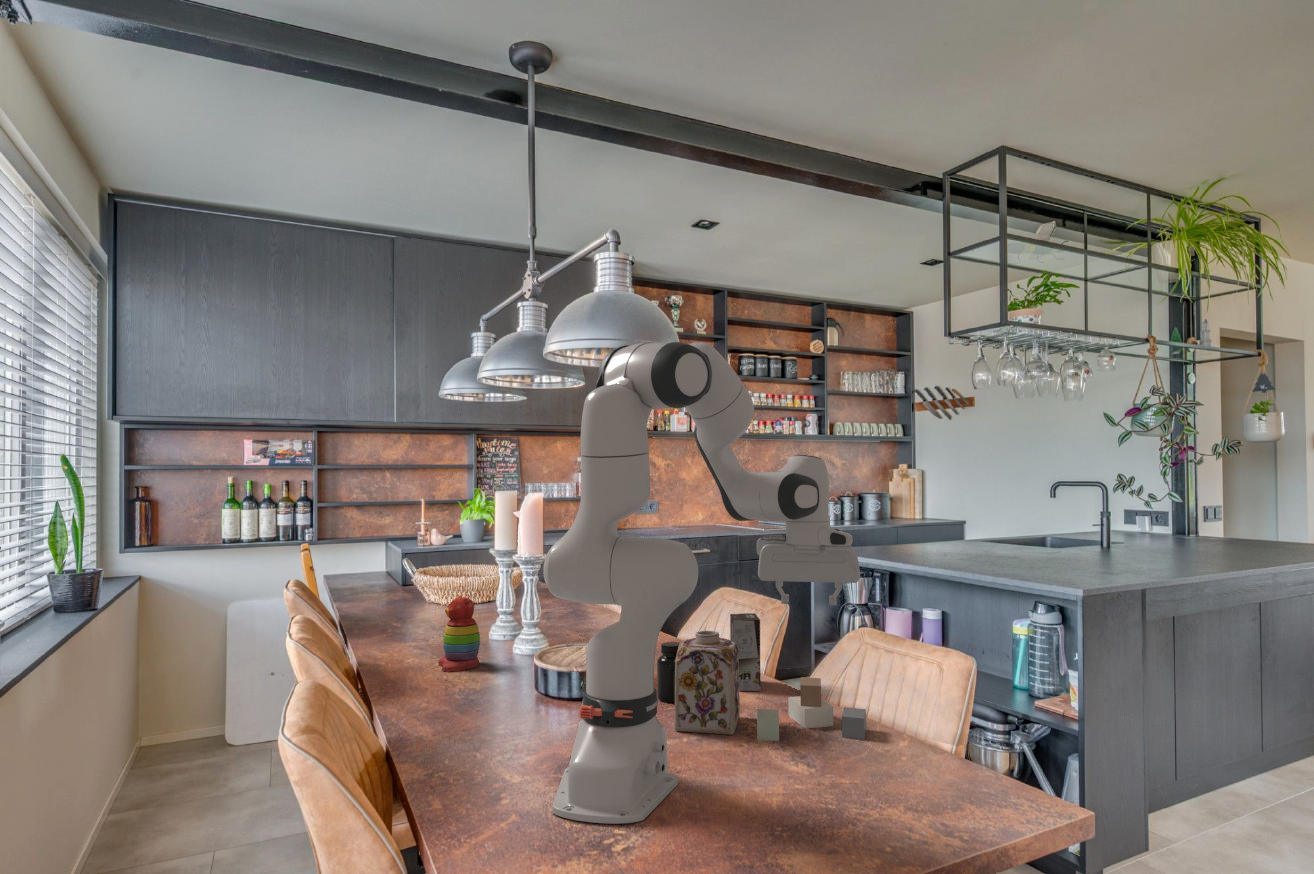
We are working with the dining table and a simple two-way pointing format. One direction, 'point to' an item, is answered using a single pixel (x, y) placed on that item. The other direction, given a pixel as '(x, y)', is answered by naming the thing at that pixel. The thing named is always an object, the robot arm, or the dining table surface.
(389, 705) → the dining table surface
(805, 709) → the cream block
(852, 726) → the grey brick
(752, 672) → the coffee box
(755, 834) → the dining table surface
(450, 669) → the stacking bear
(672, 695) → the supplement bottle
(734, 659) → the decorative jar
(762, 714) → the sage brick
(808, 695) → the walnut brick
